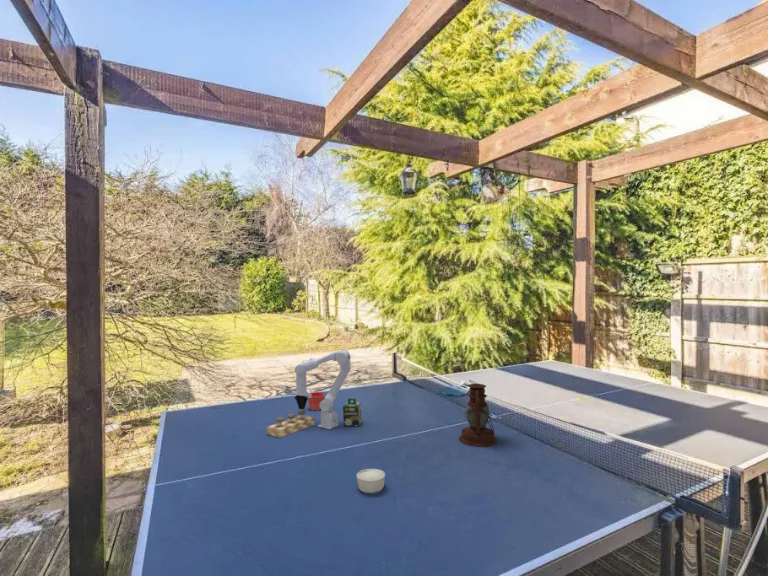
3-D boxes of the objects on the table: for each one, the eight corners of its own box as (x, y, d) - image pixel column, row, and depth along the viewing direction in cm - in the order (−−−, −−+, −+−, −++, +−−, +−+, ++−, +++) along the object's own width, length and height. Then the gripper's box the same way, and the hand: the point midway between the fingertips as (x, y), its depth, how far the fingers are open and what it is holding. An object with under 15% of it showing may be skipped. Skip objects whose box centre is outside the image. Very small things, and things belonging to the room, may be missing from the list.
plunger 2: (297, 423, 237) (296, 414, 237) (291, 425, 233) (291, 416, 233) (291, 421, 239) (291, 412, 239) (285, 423, 236) (285, 414, 236)
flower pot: (323, 411, 271) (323, 396, 271) (306, 411, 271) (305, 396, 271) (325, 406, 282) (325, 392, 282) (309, 407, 282) (309, 392, 282)
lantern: (498, 448, 204) (497, 385, 204) (458, 445, 207) (457, 383, 208) (496, 434, 222) (495, 377, 222) (459, 432, 226) (458, 376, 226)
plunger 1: (286, 426, 230) (285, 417, 230) (279, 429, 227) (279, 419, 227) (280, 425, 233) (280, 416, 233) (274, 427, 229) (274, 418, 229)
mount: (302, 421, 250) (302, 414, 250) (314, 424, 244) (314, 417, 244) (266, 434, 228) (266, 426, 229) (279, 437, 223) (279, 430, 223)
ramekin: (369, 479, 173) (369, 465, 173) (391, 486, 165) (391, 473, 165) (350, 489, 164) (350, 475, 164) (372, 497, 157) (372, 483, 157)
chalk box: (361, 421, 248) (361, 396, 249) (359, 426, 239) (358, 400, 239) (346, 421, 249) (345, 395, 250) (343, 426, 240) (342, 400, 240)
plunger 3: (307, 419, 243) (307, 410, 243) (301, 421, 240) (301, 412, 240) (302, 418, 246) (301, 409, 246) (296, 420, 242) (296, 411, 242)
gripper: (315, 385, 242) (316, 409, 242) (297, 382, 250) (298, 405, 250) (306, 387, 236) (307, 412, 236) (288, 384, 245) (288, 408, 245)
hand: (301, 408), depth 243 cm, fingers closed
